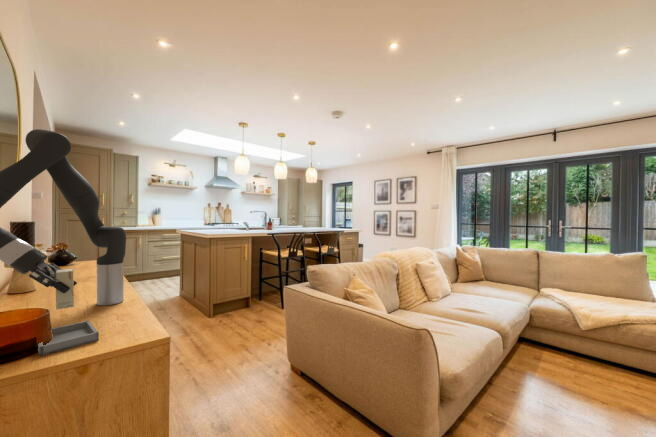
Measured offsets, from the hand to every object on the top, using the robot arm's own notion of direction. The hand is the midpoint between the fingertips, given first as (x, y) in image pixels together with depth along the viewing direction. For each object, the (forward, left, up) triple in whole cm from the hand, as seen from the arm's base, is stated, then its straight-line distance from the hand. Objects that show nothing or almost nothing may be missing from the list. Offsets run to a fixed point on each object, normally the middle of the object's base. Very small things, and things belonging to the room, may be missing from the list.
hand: (71, 288), depth 94 cm
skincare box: (-1, -1, -6) cm, 6 cm away
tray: (+12, -2, -14) cm, 18 cm away
